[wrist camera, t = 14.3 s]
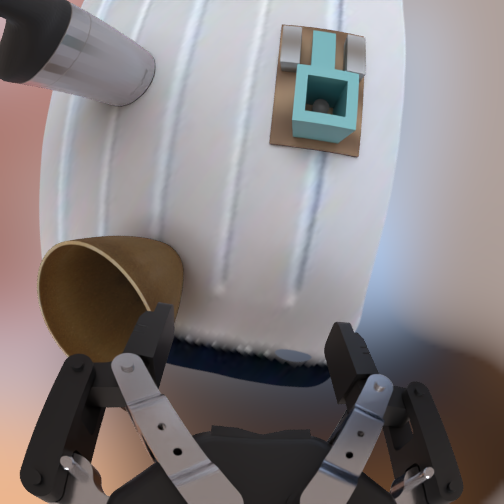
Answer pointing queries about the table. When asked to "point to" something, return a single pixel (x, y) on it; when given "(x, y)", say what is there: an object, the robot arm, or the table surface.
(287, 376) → the table surface
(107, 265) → the plant pot
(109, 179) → the table surface
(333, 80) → the link
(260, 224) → the table surface
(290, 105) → the base
